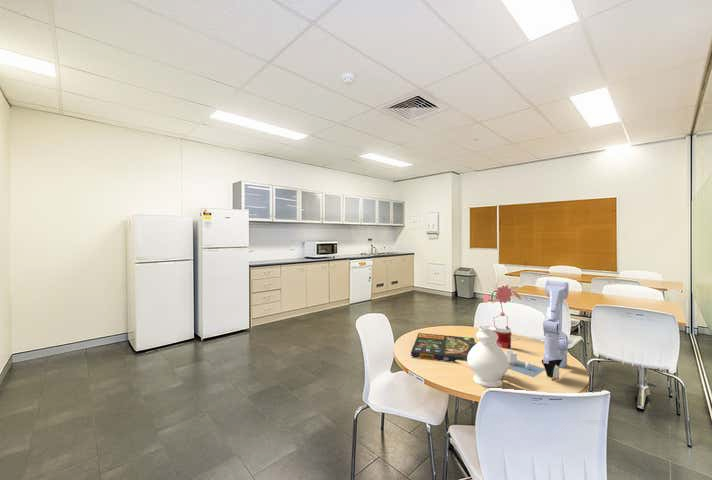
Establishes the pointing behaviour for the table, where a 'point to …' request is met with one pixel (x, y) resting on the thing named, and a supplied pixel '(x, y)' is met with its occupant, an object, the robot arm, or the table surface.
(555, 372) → the sleeve
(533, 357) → the table surface
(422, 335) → the pizza box
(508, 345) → the canned food
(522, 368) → the pin board
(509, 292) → the potted flower
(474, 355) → the decorative vase
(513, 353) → the seated sleeve
